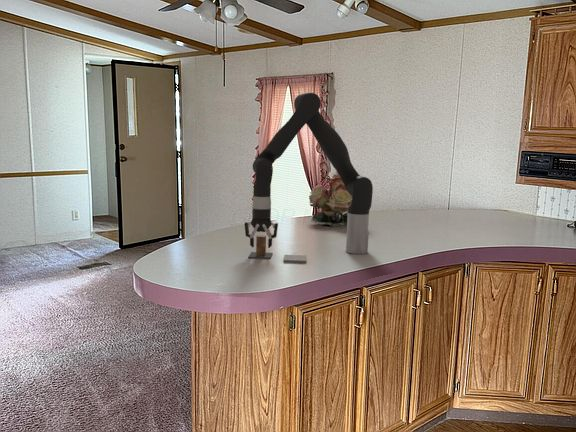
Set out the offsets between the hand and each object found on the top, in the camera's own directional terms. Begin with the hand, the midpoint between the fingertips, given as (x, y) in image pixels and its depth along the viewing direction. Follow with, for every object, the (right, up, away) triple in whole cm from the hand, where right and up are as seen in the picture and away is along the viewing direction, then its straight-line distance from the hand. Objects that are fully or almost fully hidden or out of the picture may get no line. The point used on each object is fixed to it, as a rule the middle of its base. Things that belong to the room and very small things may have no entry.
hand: (260, 247), depth 218 cm
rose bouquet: (+38, +8, +87) cm, 95 cm away
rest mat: (0, -4, +1) cm, 4 cm away
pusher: (0, -3, 0) cm, 3 cm away
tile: (+14, -4, 0) cm, 15 cm away
